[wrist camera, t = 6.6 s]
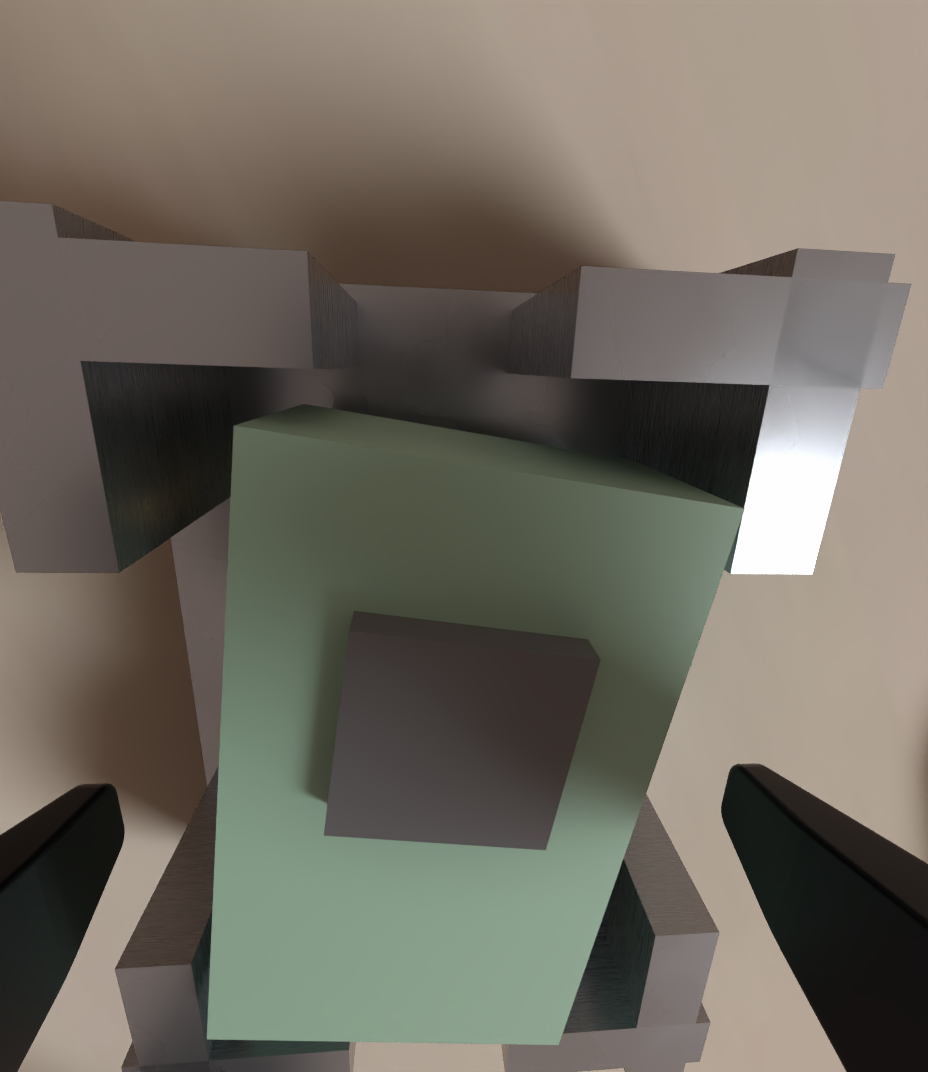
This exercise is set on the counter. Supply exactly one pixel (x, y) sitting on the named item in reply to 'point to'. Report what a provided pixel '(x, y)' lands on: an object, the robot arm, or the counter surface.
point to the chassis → (432, 399)
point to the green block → (437, 721)
